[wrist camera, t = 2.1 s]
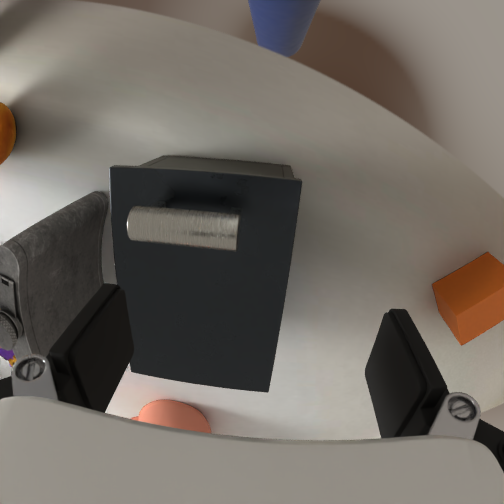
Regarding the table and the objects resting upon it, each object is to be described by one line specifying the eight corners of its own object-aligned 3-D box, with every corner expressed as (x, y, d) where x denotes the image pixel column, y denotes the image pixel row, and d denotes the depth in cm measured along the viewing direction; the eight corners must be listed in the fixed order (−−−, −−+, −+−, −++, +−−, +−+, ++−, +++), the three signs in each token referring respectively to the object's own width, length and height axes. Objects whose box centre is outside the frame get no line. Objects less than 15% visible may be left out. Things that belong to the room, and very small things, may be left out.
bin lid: (114, 165, 21) (73, 182, 16) (301, 178, 20) (310, 199, 16) (133, 366, 28) (114, 407, 23) (268, 386, 28) (266, 433, 23)
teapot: (220, 446, 50) (213, 490, 42) (123, 422, 50) (107, 462, 41) (230, 408, 45) (223, 459, 37) (118, 380, 45) (96, 425, 36)
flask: (81, 293, 39) (5, 384, 22) (82, 187, 33) (-32, 251, 16) (105, 301, 39) (33, 400, 22) (109, 193, 33) (-2, 264, 16)
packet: (431, 283, 35) (456, 316, 29) (487, 251, 33) (518, 277, 26) (439, 313, 37) (461, 346, 30) (492, 281, 34) (519, 309, 28)
